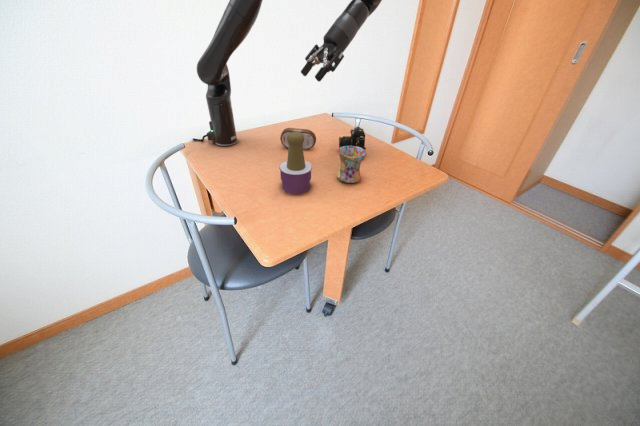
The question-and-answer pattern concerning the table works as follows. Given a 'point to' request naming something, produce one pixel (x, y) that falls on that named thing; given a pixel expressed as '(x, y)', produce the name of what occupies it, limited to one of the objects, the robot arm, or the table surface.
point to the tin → (308, 137)
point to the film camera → (353, 139)
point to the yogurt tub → (295, 179)
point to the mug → (350, 163)
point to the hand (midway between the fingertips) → (309, 76)
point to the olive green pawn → (295, 151)
